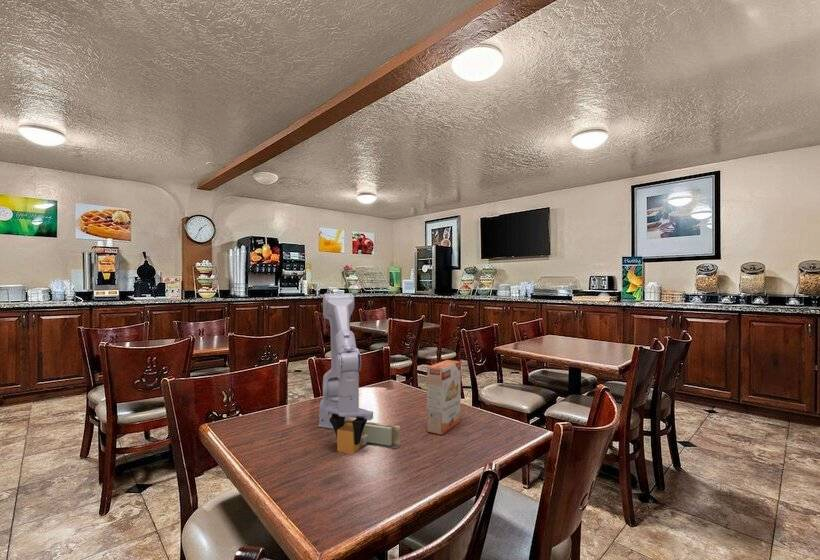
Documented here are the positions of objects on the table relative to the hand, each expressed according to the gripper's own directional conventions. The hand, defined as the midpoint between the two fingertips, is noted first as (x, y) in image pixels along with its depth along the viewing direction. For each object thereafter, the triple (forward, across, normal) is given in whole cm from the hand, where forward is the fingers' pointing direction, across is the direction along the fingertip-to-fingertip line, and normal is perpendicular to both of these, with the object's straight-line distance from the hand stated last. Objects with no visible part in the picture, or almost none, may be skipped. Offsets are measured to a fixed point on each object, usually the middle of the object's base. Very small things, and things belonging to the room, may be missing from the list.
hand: (348, 442), depth 109 cm
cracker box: (+2, +21, +26) cm, 33 cm away
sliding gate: (+1, +6, +4) cm, 8 cm away
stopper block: (+2, 0, +1) cm, 2 cm away
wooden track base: (+2, +3, +6) cm, 7 cm away
